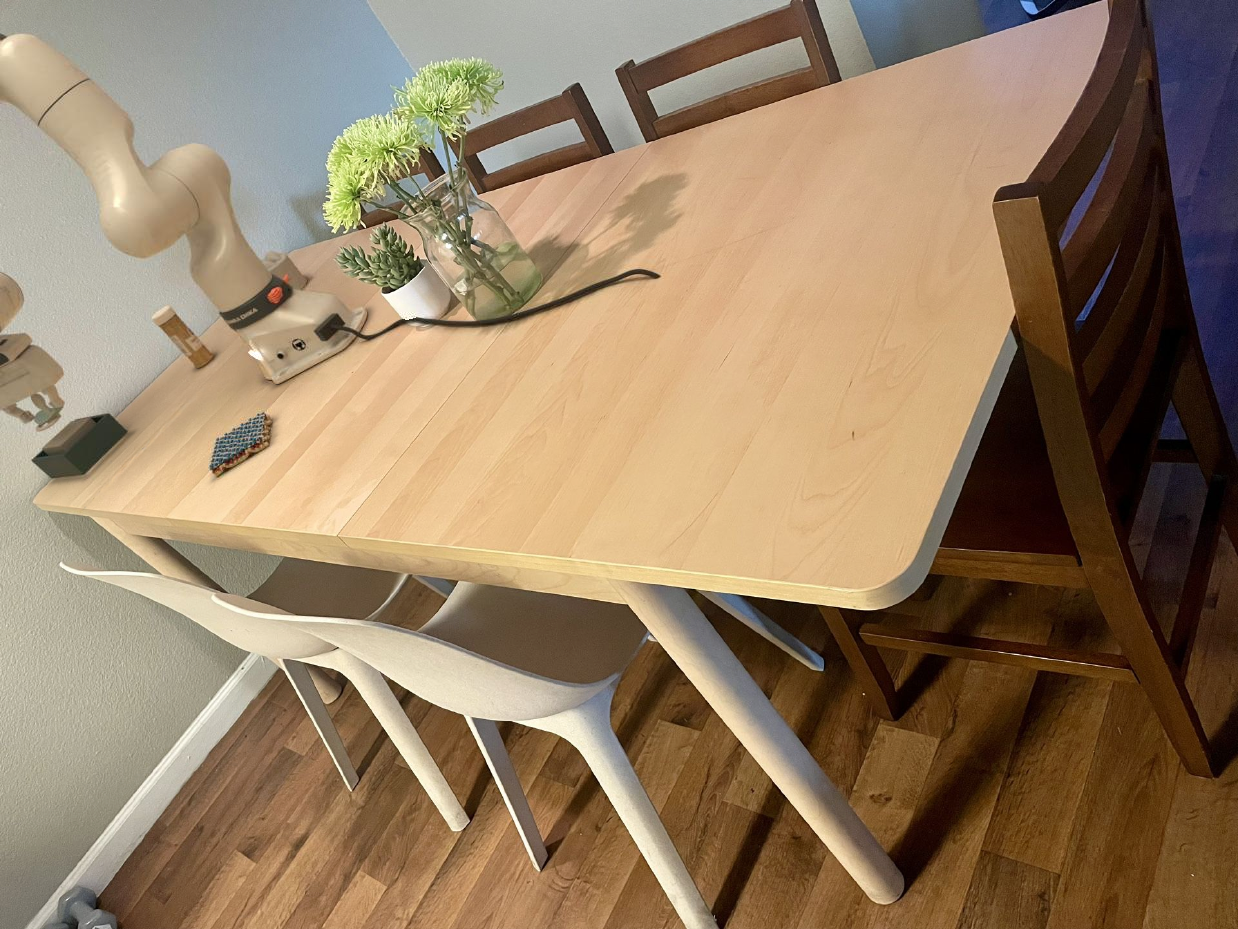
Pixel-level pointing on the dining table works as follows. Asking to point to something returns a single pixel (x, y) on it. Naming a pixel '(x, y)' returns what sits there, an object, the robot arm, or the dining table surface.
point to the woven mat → (240, 443)
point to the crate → (83, 449)
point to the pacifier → (44, 413)
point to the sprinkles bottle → (182, 336)
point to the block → (68, 436)
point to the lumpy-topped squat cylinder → (284, 269)
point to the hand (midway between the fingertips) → (45, 413)
